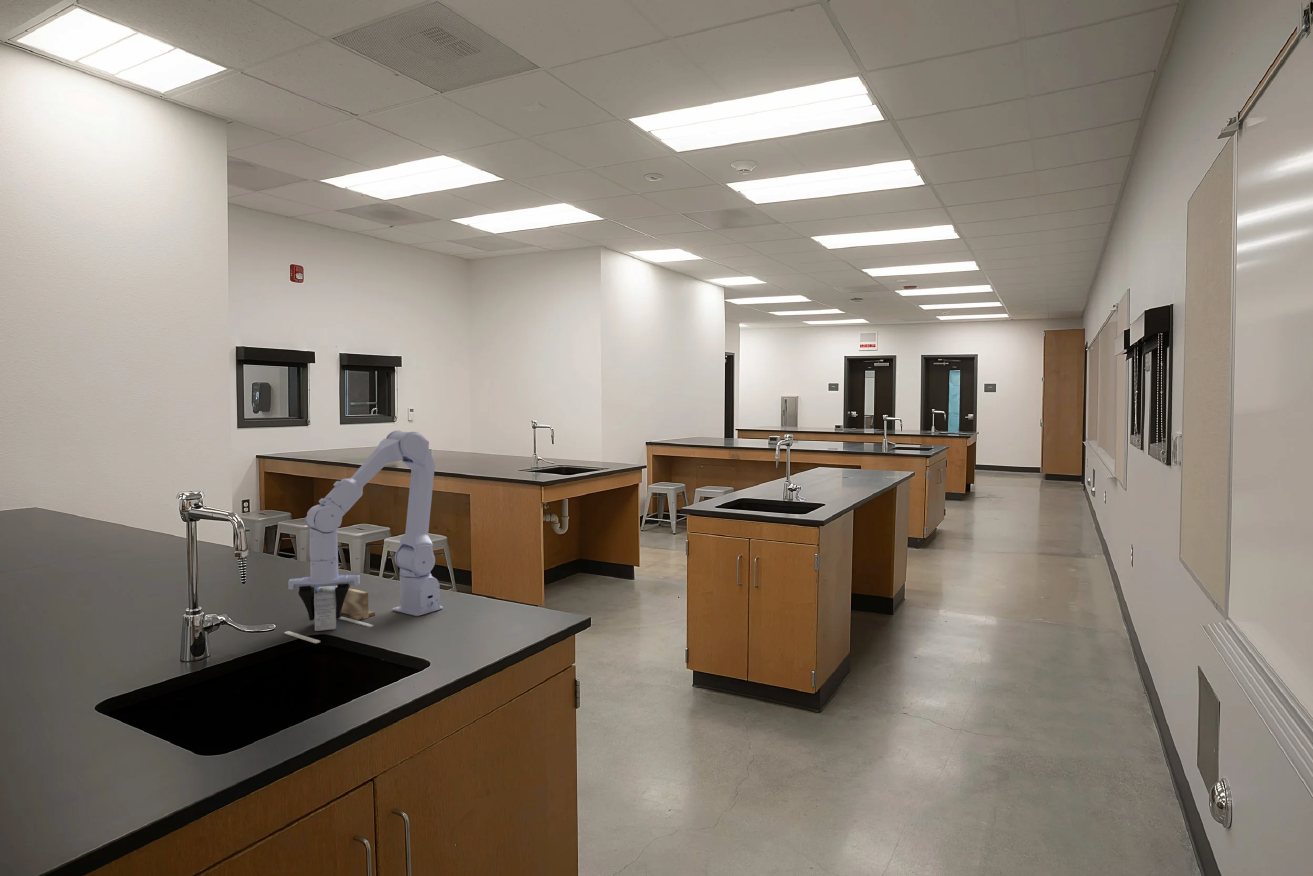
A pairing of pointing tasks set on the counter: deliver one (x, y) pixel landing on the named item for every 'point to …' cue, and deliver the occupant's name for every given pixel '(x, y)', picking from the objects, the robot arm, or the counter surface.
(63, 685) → the counter surface
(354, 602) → the wooden board with feet
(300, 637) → the tape marks
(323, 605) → the medicine box
